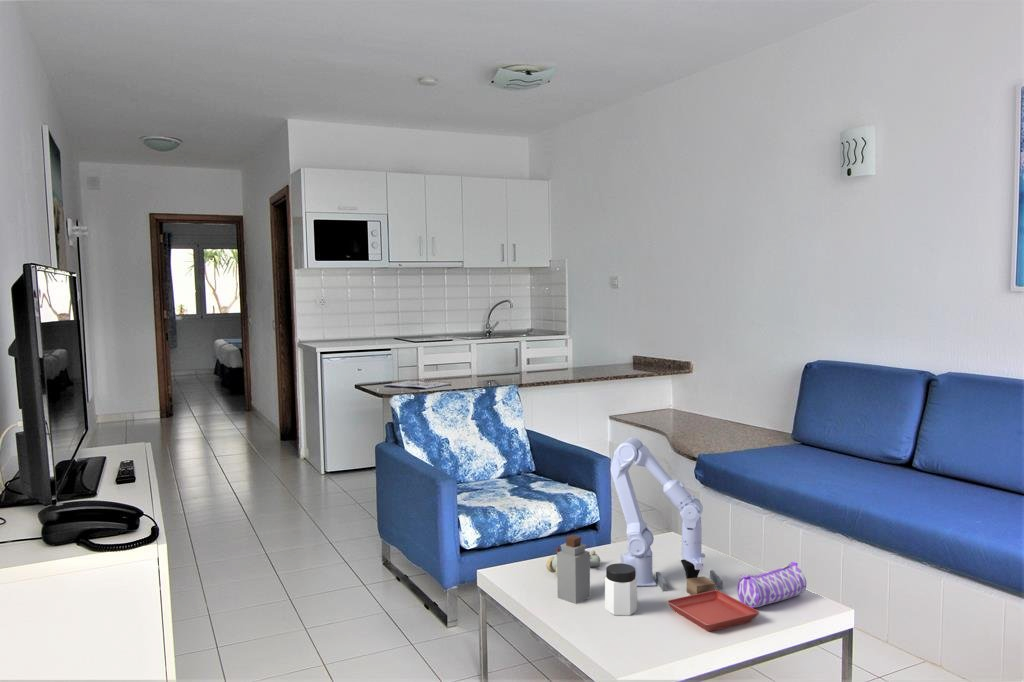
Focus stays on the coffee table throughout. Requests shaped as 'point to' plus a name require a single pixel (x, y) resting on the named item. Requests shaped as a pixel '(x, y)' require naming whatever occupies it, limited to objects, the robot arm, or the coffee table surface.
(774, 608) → the coffee table surface
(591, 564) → the toy dog
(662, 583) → the lane
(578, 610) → the coffee table surface
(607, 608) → the jar
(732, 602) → the plant saucer
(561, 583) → the perfume bottle
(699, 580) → the walnut block
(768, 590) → the pencil case
